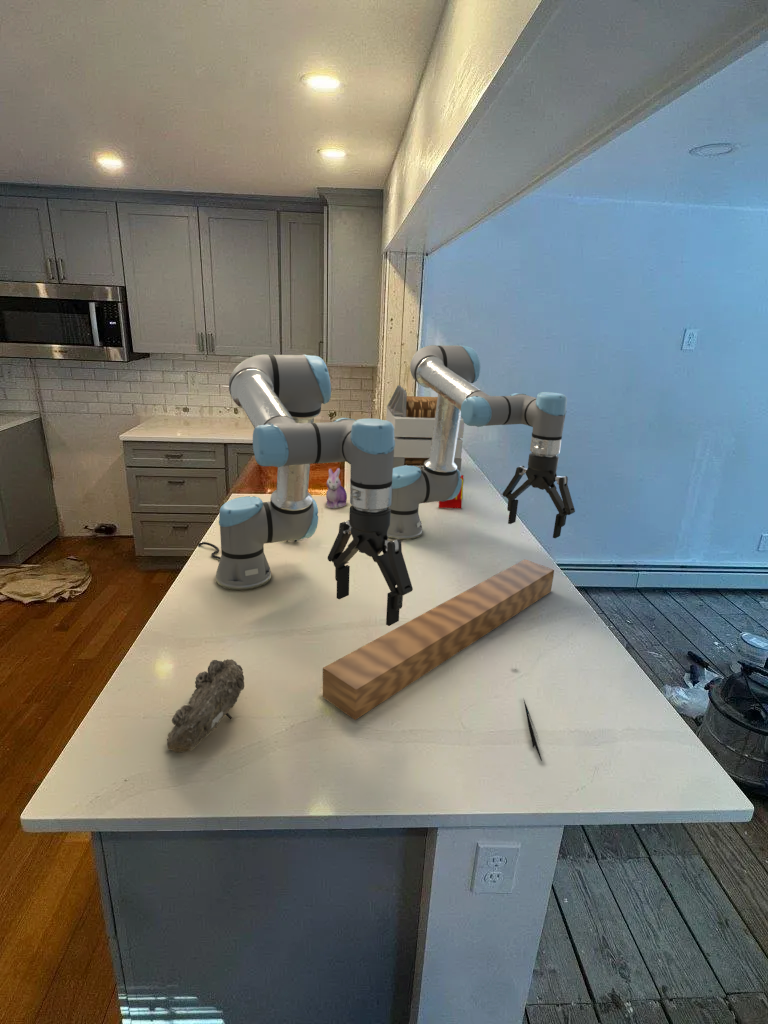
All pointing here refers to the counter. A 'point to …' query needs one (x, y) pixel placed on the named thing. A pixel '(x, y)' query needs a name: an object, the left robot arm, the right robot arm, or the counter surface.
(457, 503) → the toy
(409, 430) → the grey wooden crate
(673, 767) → the counter surface
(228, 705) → the fossil
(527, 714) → the feather
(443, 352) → the right robot arm
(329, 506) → the figurine
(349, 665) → the wooden beam
